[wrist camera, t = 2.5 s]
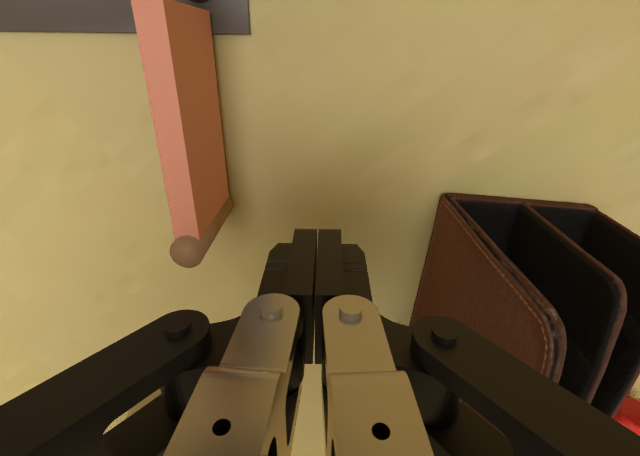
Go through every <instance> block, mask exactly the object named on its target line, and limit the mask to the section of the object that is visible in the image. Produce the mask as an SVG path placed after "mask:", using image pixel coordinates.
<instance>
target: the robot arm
mask: <svg viewBox="0 0 640 456" xmlns="http://www.w3.org/2000/svg"><path fill="white" fill-rule="evenodd" d="M314 325H315V364H322V387H321V392H322V407H323V422H324V437H325V452H326V456H640V436H639V435H638V434H636V433H634V432H633V431H631V430H630V429H628V428H627V427H625V426H623V425H622V424H620V423H619V422H617V421H615V420H614V419H612V418H611V417H609V416H608V415H606V414H604V413H603V412H601V411H600V410H598V409H597V408H595V407H593V406H592V405H590V404H589V403H587V402H585V401H584V400H582V399H581V398H579V397H578V396H576V395H574V394H573V393H571V392H570V391H568V390H567V389H565V388H563V387H562V386H560V385H559V384H557V383H555V382H554V381H552V380H551V379H549V378H548V377H546V376H544V375H543V374H541V373H540V372H538V371H536V370H535V369H533V368H532V367H530V366H529V365H527V364H525V363H524V362H522V361H521V360H519V359H518V358H516V357H514V356H513V355H511V354H510V353H508V352H506V351H505V350H503V349H502V348H500V347H499V346H497V345H495V344H494V343H492V342H491V341H489V340H488V339H486V338H484V337H483V336H481V335H480V334H478V333H476V332H475V331H473V330H472V329H470V328H469V327H467V326H465V325H464V324H462V323H460V322H459V321H457V320H454V319H452V318H449V317H444V316H427V317H423V318H421V319H420V320H418V321H417V322H416V323H415V325H414V327H409V326H405V325H401V324H398V323H395V322H392V321H390V320H388V319H386V318H384V317H383V316H382V315H380V314H379V311H378V309H377V307H376V306H375V305H374V304H373V302H372V296H371V290H370V284H369V278H368V272H367V266H366V260H365V254H364V252H363V251H362V250H361V249H360V248H359V247H358V245H357V244H341V229H319V233H318V251H317V229H295V231H294V236H293V242H292V243H278V244H277V245H276V246H275V247H274V248H273V249H272V250H271V251H270V252H269V256H268V259H267V263H266V266H265V271H264V274H263V277H262V281H261V284H260V288H259V291H258V295H257V297H256V298H254V299H252V300H251V301H250V302H248V304H247V305H246V306H245V308H244V310H243V312H242V314H241V316H239V317H237V318H234V319H231V320H227V321H223V322H218V323H213V324H210V323H209V320H208V318H207V316H206V315H204V314H203V313H201V312H199V311H195V310H179V311H175V312H171V313H169V314H166V315H164V316H162V317H160V318H158V319H157V320H155V321H153V322H151V323H149V324H148V325H146V326H144V327H142V328H140V329H139V330H137V331H135V332H133V333H131V334H130V335H128V336H126V337H124V338H122V339H120V340H119V341H117V342H115V343H113V344H111V345H110V346H108V347H106V348H104V349H102V350H101V351H99V352H97V353H95V354H93V355H92V356H90V357H88V358H86V359H84V360H83V361H81V362H79V363H77V364H75V365H73V366H72V367H70V368H68V369H66V370H64V371H63V372H61V373H59V374H57V375H55V376H54V377H52V378H50V379H48V380H46V381H45V382H43V383H41V384H39V385H37V386H35V387H34V388H32V389H30V390H28V391H26V392H25V393H23V394H21V395H19V396H17V397H16V398H14V399H12V400H10V401H8V402H7V403H5V404H3V405H1V406H0V456H290V455H291V449H292V443H293V437H294V431H295V425H296V419H297V413H298V407H299V401H300V395H301V387H302V386H301V382H302V380H303V376H304V364H313V345H314ZM462 400H463V401H464V402H465V403H466V404H468V405H469V406H470V407H471V408H473V409H474V410H475V411H476V412H478V413H479V414H480V415H481V416H483V417H484V418H485V419H486V420H488V421H489V422H490V423H491V424H493V425H494V426H495V427H496V428H498V429H499V430H500V431H501V432H502V433H503V434H504V435H505V436H506V437H507V438H506V437H505V436H504V435H502V434H501V433H500V432H499V431H498V430H496V429H495V428H494V427H493V426H491V425H490V424H489V423H488V422H486V421H485V420H484V419H483V418H481V417H480V416H479V415H478V414H476V413H475V412H474V411H473V410H472V409H470V408H469V407H468V406H467V405H465V404H464V403H463V402H462ZM129 409H130V411H129V413H128V415H127V416H126V418H125V420H124V421H122V422H121V423H120V424H118V425H117V426H115V427H114V428H113V429H111V430H110V431H108V432H107V433H105V434H103V433H104V431H105V430H106V428H107V427H108V426H109V425H110V423H112V422H113V421H114V420H115V419H116V418H118V417H119V416H121V415H122V414H124V413H125V412H126V411H128V410H129Z"/></svg>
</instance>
